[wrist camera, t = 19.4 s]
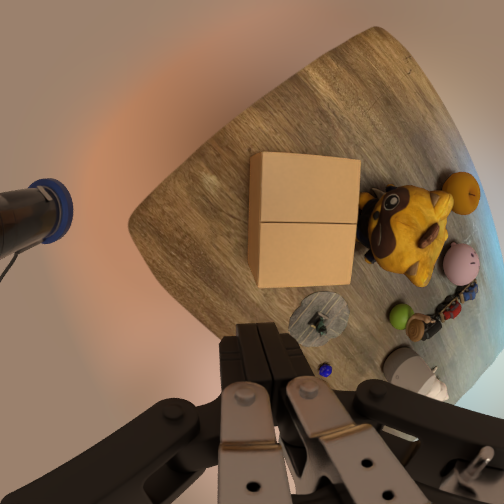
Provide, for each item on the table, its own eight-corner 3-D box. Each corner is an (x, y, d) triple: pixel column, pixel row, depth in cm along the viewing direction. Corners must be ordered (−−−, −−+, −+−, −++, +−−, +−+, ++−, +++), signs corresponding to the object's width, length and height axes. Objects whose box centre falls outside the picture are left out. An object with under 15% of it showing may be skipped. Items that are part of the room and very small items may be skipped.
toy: (474, 241, 51) (490, 273, 43) (450, 264, 57) (463, 297, 50) (455, 226, 49) (473, 259, 42) (430, 252, 55) (443, 286, 48)
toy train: (410, 327, 56) (423, 337, 51) (470, 272, 56) (483, 278, 51) (413, 337, 57) (425, 348, 53) (472, 283, 57) (484, 289, 52)
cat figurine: (434, 399, 53) (446, 410, 56) (446, 363, 58) (457, 377, 61) (408, 396, 61) (422, 407, 64) (420, 362, 66) (434, 376, 68)
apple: (451, 163, 47) (481, 164, 39) (462, 199, 50) (490, 205, 41) (427, 180, 48) (458, 184, 39) (440, 218, 50) (469, 227, 42)
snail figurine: (408, 295, 54) (443, 319, 42) (400, 321, 55) (431, 349, 44) (390, 295, 53) (424, 321, 41) (381, 322, 54) (412, 352, 43)
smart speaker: (400, 374, 60) (429, 407, 47) (373, 376, 59) (401, 413, 45) (416, 343, 58) (449, 374, 45) (389, 343, 56) (423, 378, 43)
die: (332, 364, 56) (333, 377, 54) (320, 366, 56) (321, 379, 55) (329, 361, 54) (331, 375, 52) (317, 363, 54) (318, 377, 53)
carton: (322, 261, 49) (350, 284, 38) (247, 262, 47) (257, 288, 36) (328, 161, 44) (361, 159, 33) (250, 156, 42) (262, 150, 32)
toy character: (326, 234, 48) (383, 267, 30) (371, 165, 45) (440, 167, 28) (387, 281, 52) (445, 321, 35) (425, 220, 50) (490, 240, 32)
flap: (348, 283, 38) (350, 284, 38) (257, 287, 36) (258, 288, 36) (355, 224, 36) (356, 224, 36) (259, 222, 34) (260, 222, 34)
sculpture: (285, 347, 53) (295, 342, 46) (284, 303, 57) (293, 290, 50) (342, 345, 54) (359, 339, 47) (339, 303, 58) (354, 291, 51)
